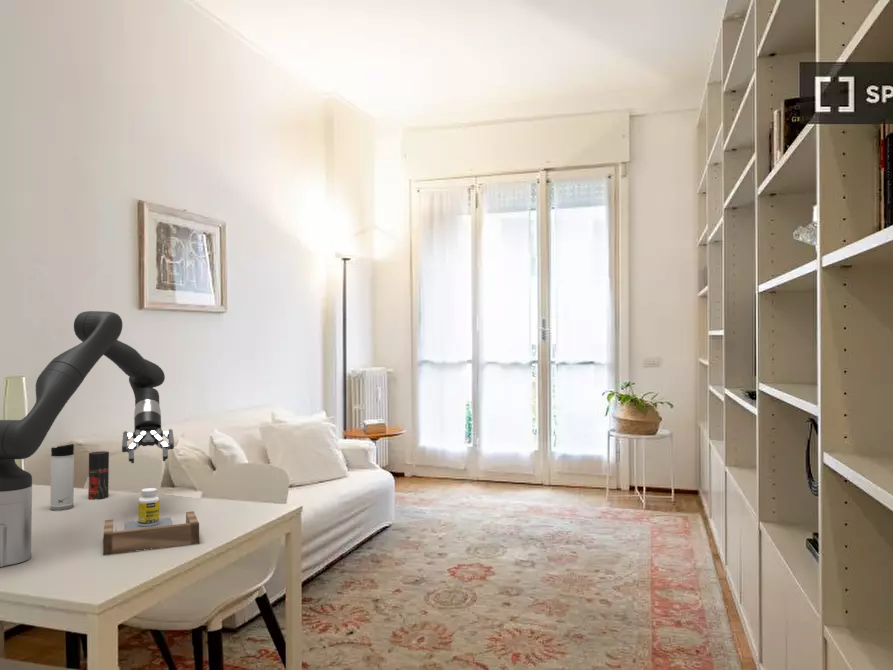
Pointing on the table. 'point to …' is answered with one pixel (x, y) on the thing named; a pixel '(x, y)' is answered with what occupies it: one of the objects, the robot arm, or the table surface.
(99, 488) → the deodorant
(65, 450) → the travel mug
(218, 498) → the table surface
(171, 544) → the walnut bay
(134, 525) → the slate pad
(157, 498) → the supplement bottle
